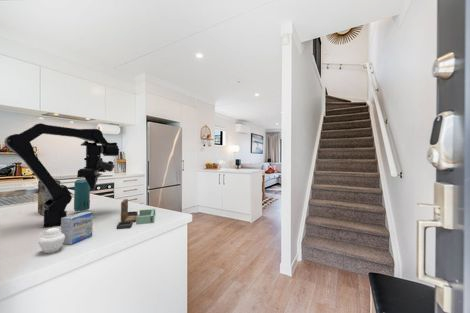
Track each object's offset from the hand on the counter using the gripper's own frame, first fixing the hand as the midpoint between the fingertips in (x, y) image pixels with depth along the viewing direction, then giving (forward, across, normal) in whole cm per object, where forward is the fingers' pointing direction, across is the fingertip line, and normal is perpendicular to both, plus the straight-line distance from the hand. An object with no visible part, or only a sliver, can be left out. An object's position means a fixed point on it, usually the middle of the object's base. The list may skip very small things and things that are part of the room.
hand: (92, 189), depth 96 cm
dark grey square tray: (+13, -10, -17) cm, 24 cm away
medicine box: (+13, -28, -4) cm, 31 cm away
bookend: (+13, -10, -20) cm, 26 cm away
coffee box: (+13, +12, +22) cm, 28 cm away
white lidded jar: (+13, -36, 0) cm, 38 cm away
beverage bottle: (+13, +9, +7) cm, 18 cm away
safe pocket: (+13, -10, -24) cm, 29 cm away
